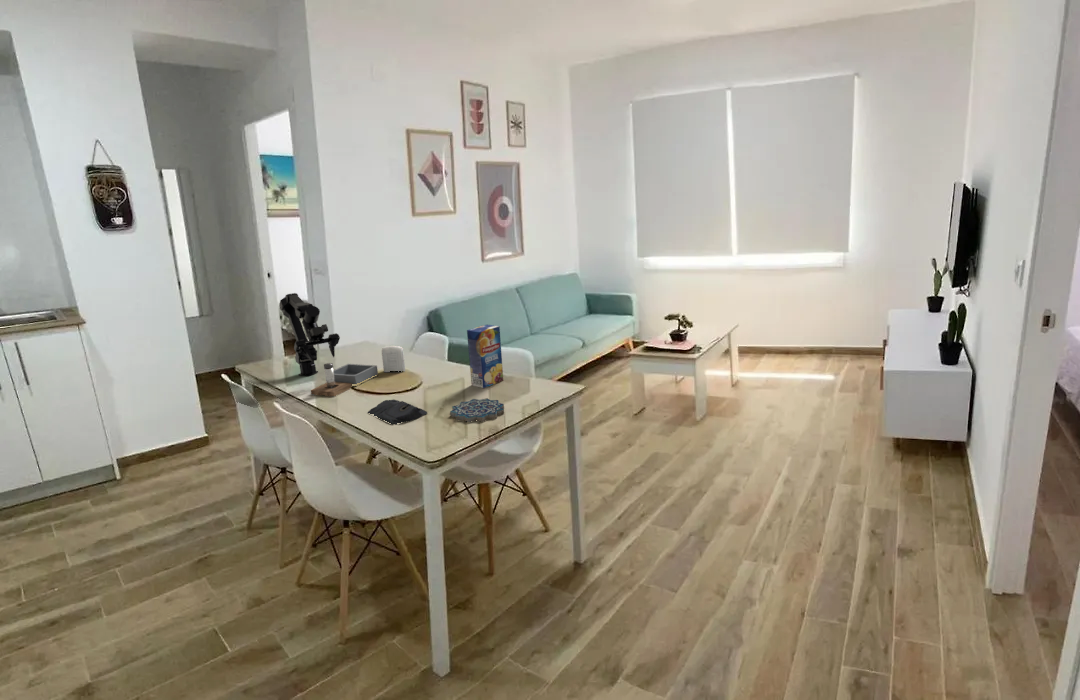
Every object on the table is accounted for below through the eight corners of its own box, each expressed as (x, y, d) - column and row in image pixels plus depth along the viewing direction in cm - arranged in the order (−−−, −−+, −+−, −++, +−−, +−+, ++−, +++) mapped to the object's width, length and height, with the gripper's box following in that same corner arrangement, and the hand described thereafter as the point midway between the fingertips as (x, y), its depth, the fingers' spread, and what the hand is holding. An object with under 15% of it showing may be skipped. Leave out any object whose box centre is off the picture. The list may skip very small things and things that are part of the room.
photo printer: (406, 369, 289) (403, 344, 285) (404, 372, 285) (401, 346, 281) (385, 370, 290) (382, 344, 287) (382, 372, 286) (379, 347, 282)
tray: (326, 384, 273) (325, 373, 272) (349, 373, 287) (348, 363, 286) (356, 386, 267) (355, 376, 266) (378, 375, 282) (376, 365, 281)
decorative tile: (485, 426, 216) (484, 420, 215) (440, 419, 226) (439, 413, 225) (514, 407, 233) (514, 401, 232) (471, 401, 242) (471, 395, 242)
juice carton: (483, 388, 256) (479, 332, 250) (471, 385, 261) (466, 330, 255) (503, 380, 265) (499, 326, 259) (491, 377, 270) (487, 324, 263)
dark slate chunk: (399, 403, 245) (397, 391, 244) (430, 415, 230) (429, 403, 229) (364, 414, 235) (362, 402, 234) (394, 428, 220) (393, 415, 218)
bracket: (311, 394, 260) (310, 390, 259) (330, 385, 271) (329, 381, 270) (334, 396, 256) (333, 392, 255) (352, 387, 266) (351, 383, 266)
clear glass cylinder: (326, 392, 262) (321, 365, 259) (331, 389, 265) (327, 362, 262) (332, 392, 261) (328, 365, 258) (338, 390, 264) (334, 363, 261)
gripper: (292, 322, 259) (303, 354, 254) (335, 315, 270) (347, 345, 265) (289, 336, 268) (300, 367, 263) (331, 329, 278) (343, 358, 273)
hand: (323, 358), depth 266 cm, fingers open, 9 cm apart
